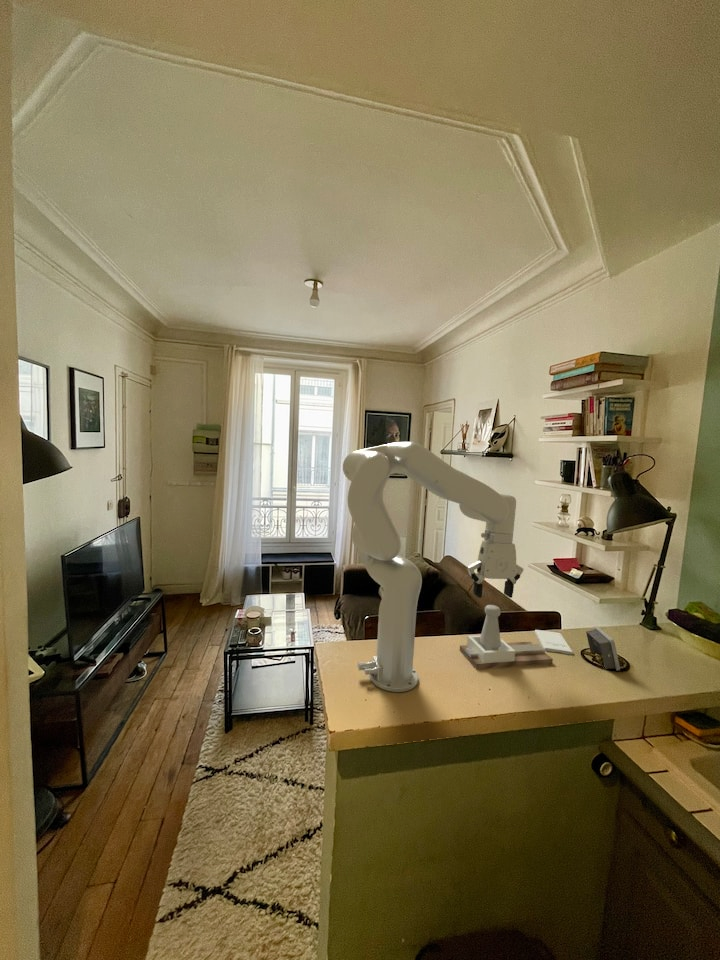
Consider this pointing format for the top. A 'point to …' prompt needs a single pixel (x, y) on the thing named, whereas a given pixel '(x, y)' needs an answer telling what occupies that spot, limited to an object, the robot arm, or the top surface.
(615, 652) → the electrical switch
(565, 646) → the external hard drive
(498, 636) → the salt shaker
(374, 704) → the top surface
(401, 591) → the robot arm
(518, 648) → the rail
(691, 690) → the top surface
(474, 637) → the white square tray
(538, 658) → the rail board
